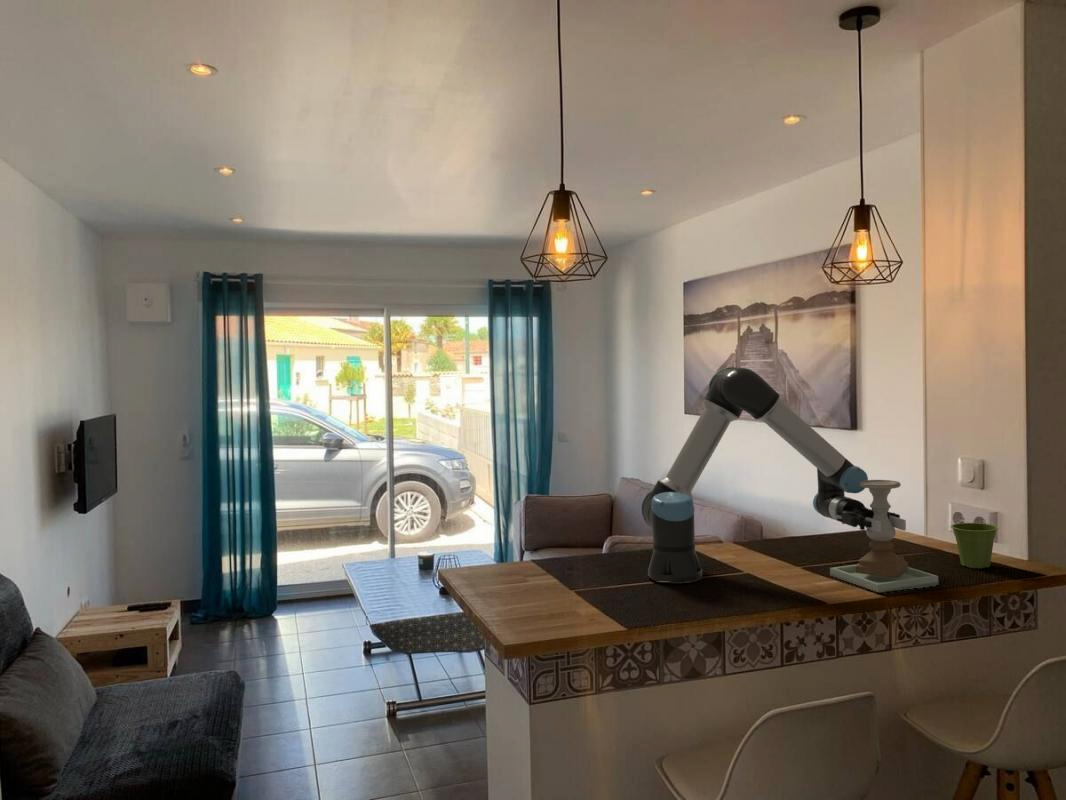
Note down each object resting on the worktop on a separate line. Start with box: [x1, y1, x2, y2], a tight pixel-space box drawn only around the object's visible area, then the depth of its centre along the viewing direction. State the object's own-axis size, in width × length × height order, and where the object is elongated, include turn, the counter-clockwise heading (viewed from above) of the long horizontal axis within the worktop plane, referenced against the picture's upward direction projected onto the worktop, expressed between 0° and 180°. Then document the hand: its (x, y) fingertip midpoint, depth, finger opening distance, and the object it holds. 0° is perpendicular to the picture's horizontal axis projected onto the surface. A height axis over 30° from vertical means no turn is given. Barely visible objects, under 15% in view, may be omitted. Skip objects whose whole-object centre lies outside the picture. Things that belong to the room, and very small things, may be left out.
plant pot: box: [950, 522, 999, 570], centre depth 234 cm, size 12×12×11 cm
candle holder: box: [855, 479, 909, 578], centre depth 222 cm, size 11×11×24 cm
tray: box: [829, 563, 939, 592], centre depth 223 cm, size 19×19×2 cm
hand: (892, 526), depth 217 cm, fingers closed on candle holder, 6 cm apart
